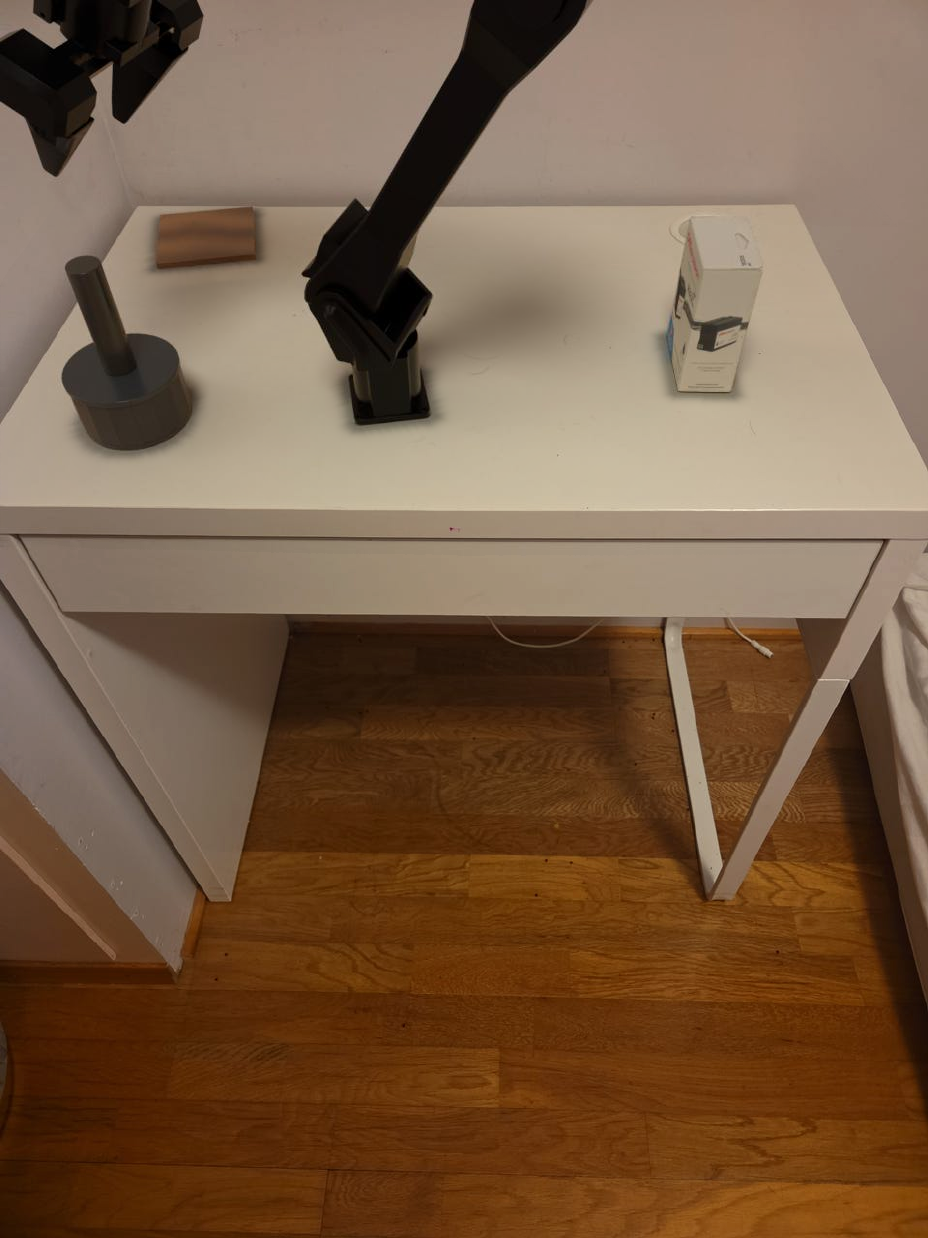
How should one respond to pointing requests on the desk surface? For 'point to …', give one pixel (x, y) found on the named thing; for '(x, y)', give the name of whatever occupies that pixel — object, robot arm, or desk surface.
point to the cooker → (139, 419)
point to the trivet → (206, 237)
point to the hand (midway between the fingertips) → (86, 145)
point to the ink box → (713, 302)
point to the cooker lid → (113, 348)
